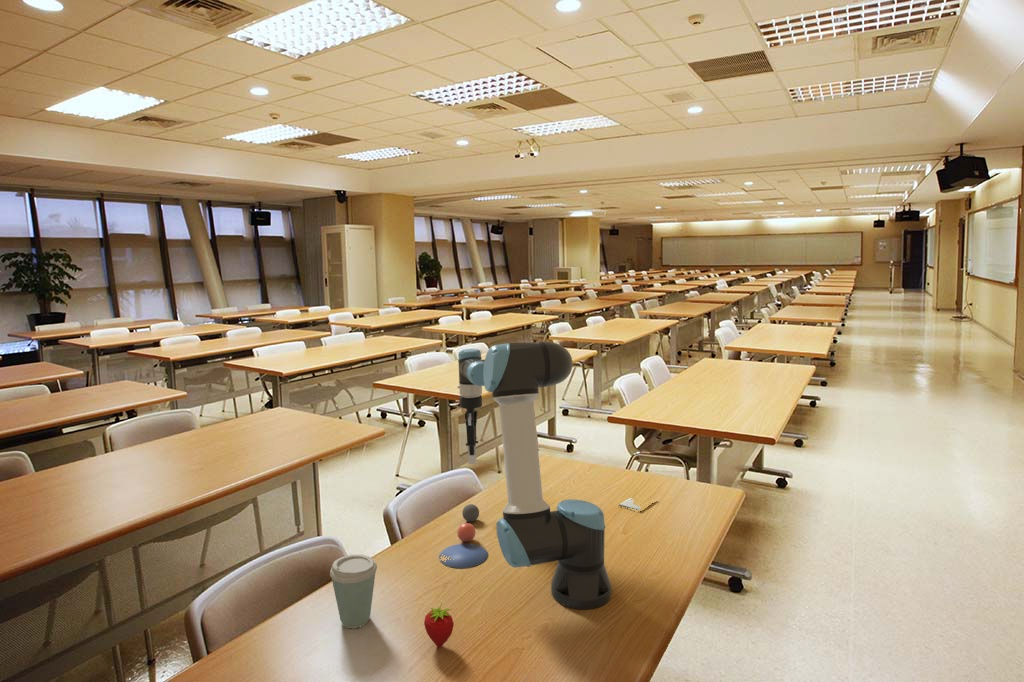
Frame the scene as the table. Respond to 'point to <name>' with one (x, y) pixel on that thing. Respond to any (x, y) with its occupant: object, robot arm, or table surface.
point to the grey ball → (470, 512)
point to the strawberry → (439, 625)
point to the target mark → (464, 555)
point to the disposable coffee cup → (354, 588)
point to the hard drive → (629, 504)
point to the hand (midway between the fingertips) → (472, 463)
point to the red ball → (466, 532)
